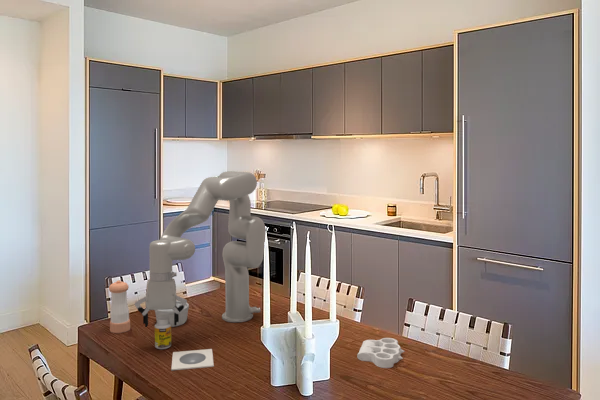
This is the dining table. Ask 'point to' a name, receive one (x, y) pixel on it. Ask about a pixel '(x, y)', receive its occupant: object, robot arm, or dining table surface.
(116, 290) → the salt shaker
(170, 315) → the ramekin
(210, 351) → the card
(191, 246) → the robot arm
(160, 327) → the supplement bottle
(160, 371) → the dining table surface
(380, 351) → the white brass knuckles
